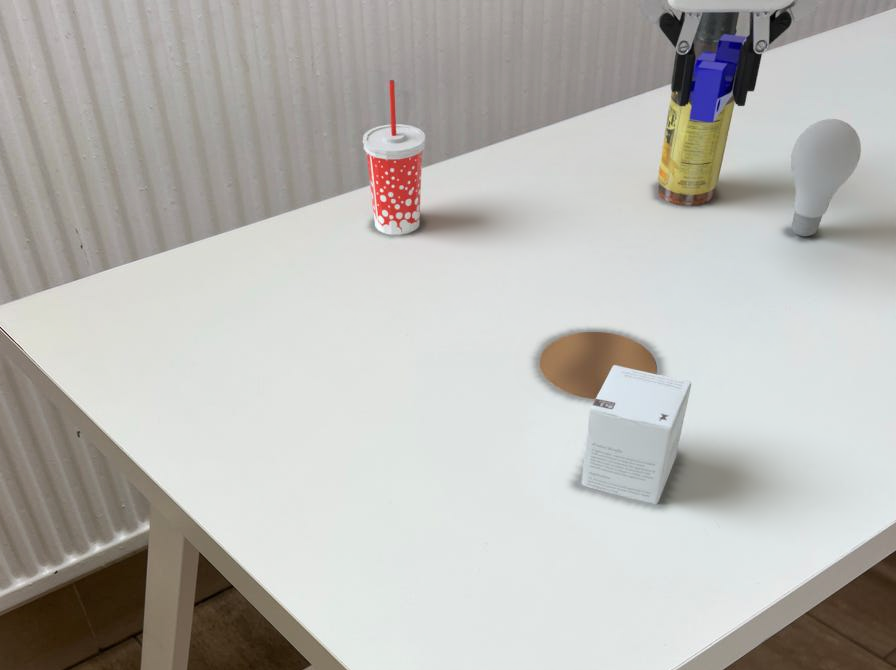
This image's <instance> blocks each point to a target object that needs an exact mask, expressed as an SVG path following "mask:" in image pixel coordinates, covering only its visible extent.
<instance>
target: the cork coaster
mask: <svg viewBox="0 0 896 670" xmlns="http://www.w3.org/2000/svg"><path fill="white" fill-rule="evenodd" d="M538 362H539V369H540V372H541V374H542V375H543V377H544V378H545V380H546V381H548V383H550V385H552V386H554V387H555V388H557V389H559V390H560V391H563V392H564V393H567V394H569V395H572V396H576V397H580V398H584V399H591V400H595V399H596V397H597V395H598V393H599V392H600V390H601V388H602V386H603V384H604V382H605V380H606V378H607V376H608V374H609V372H610V371H611V369H612V367H613V365H617V366H621V367H626V368H630V369H634V370H639V371H643V372H648V373H652V374H657V362H656V360H655V358H654V356H653V355H652V353H651V352H650V351H649V350H648V349H647V348H646V347H645V346H644V345H642V344H640V343H639V342H637V341H635V340H634V339H631V338H629V337H627V336H624V335H620V334H618V333H617V334H616V333H612V332H606V331H605V332H604V331H582V332H575V333H571V334H566V335H564V336H561V337H559V338H557V339H555V340H553V341H552V342H550V343H549V344H548V345H546V347H545V348H544V349H543V350H542V353H541V354H540V357H539V361H538Z"/></svg>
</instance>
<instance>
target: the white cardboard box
mask: <svg viewBox="0 0 896 670" xmlns="http://www.w3.org/2000/svg"><path fill="white" fill-rule="evenodd" d="M691 387H692V382H691V381H690V380H684V379H680V378H676V377H670V376H665V375H661V374H657V373H656V374H652V373H648V372H643V371H639V370H634V369H630V368H626V367H621V366H617V365H613V367H612V369H611V371H610V372H609V374H608V376H607V378H606V380H605V382H604V384H603V386H602V388H601V390H600V392H599V393H598V395H597V397H596V399H594V401H593V403H592V405H591V406H590V408H589V412H588V421H587V430H586V440H585V448H584V456H583V457H584V458H583V466H582V475H581V476H582V477H581V485H582V486H584V487H587V488H590V489H594V490H598V491H600V492H605V493H608V494H612V495H616V496H621V497H624V498H629V499H631V500H632V499H633V500H636V501H640V502H645V503H649V504H653V505H658V504H659V502H660V500H661V498H662V497H661V496H662V494H663V492H664V489H665V487H666V484H667V481H668V479H669V477H670V473H671V471H672V469H673V466H674V463H675V461H676V458H677V455H678V449H679V444H680V440H681V436H682V430H683V425H684V421H685V416H686V411H687V407H688V402H689V398H690V392H691Z"/></svg>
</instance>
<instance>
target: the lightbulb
mask: <svg viewBox="0 0 896 670" xmlns="http://www.w3.org/2000/svg"><path fill="white" fill-rule="evenodd" d="M861 147H862V145H861V139H860V137H859V134H858V132H857V131H856V129H855V128H854V127H853V126H852V125H851V124H849V123H848V122H846V121H844V120H842V119H839V118H838V119H837V118H826V119H823V120H822V119H821V120H819V121H817V122H814V123H812V124H811V125H809V126H808V127H807V128H805V130H803V132H802V133H801V134H800V135H799V136H798V138H796V140H795V143H794V145H793V147H792V150H791V154H790V168H791V173H792V177H793V181H794V186H795V198H794V203H793V210H794V213H793V217H792V222H791V226H790V229H791V231H792V232H793V233H794V234H796V235H798V236H799V237H810V236H813V235H815V234H817V232H818V229H819V226H820V224H821V221H822V218H823V216H824V215H825V214H826V212H827V211H828V208H829V206H830V203H831V201H832V199H833V196H835V194H836V193H837V191H839V189H840V188H841V187H842V186H843V185H844V184H845V183H846V181H847V180H848V179H849V178H850V177H851V176H852V174H854V173H855V170H856V168H857V167H858V165H859V162H860V158H861V152H862V149H861Z"/></svg>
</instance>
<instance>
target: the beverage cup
mask: <svg viewBox="0 0 896 670" xmlns="http://www.w3.org/2000/svg"><path fill="white" fill-rule="evenodd" d="M388 87H389V107H390V108H389V109H390V110H389V111H390V124H384V125H378V126H376V127H373V128H371V129H369V130H367V131H366V132H365V133H364V134H363V135H362V145H363V150H364V151H365V153H366V161H367V168H368V169H367V170H368V175H369V178H368V179H369V185H370V193H371V194H370V195H371V201H372V210H373V218H374V226H375V229H377V231H378V232H381V233H383V234H386V235H391V236H402V235H407V234H410V233H412V232H414V231H416V230H417V229H418V228H419V227H420V219H421V218H420V216H421V215H420V214H421V190H422V167H423V165H422V164H423V150H425V148H426V147H425V146H426V134H425V133H424V132H423V130H422V129H420V128H418V127H416V126H413V125H408V124H401V123H399V124H398V123H397V118H396V114H397V113H396V92H395V80H394V79H390V80H389V81H388Z"/></svg>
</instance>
